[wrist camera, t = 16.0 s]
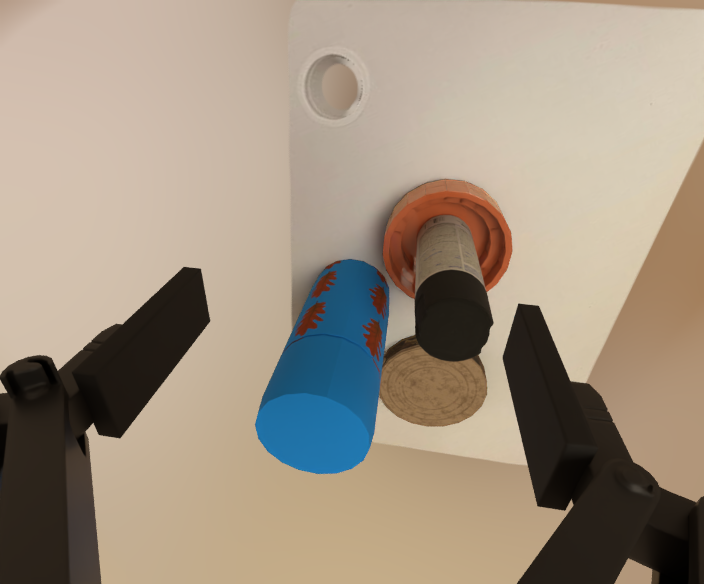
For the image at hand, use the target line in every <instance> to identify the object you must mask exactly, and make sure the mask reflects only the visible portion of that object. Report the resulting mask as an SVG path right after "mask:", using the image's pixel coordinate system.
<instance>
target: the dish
mask: <svg viewBox="0 0 704 584" xmlns="http://www.w3.org/2000/svg"><path fill="white" fill-rule="evenodd" d="M439 215H452V216H455V217H458V218H460V219H461V220H463V221H464V222H465V223H466V224H467V225H468V227H469V229H470V231H471V234H472V237H473V241H474V245H475V249H476V253H477V257H478V261H479V265H480V269H481V273H482V276H483V280H484V284H485V288H486V292H487V291H489V290H490V289H491V288H493V287H494V286H495V285H496V284H497V283H498V282H499V280H500V279H501V277H502V276H503V274H504V273H505V272H506V270H507V268H508V265H509V261H510V258H511V254H512V238H511V231H510V229H509V227H508V225H507V223H506V221H505V218H504V216H503V214H502V212H501V210H500V208H499V206H498V204H497V202H496V201H495V200H494V199H493V198H492V197H491V196H490V195H489V194H488V193H487V192H485V191H484V190H483V189H482V188H479V187H477V186H475V185H473V184H470V183H468V182H465V181H458V180H448V179H444V180H439V181H434V182H430V183H426V184H423V185H421V186H419V187H418V188H416V189H414V190H412V191H410V192H409V193H407V194H406V195H405V196H404V198H403V199H402V200H401V201H400V202H399V203H398V204H397V205H396V206H395V207H394V210H393V212H392V214H391V216H390V218H389V220H388V222H387V227H386V232H385V237H384V245H383V258H384V262H385V267H386V271H387V272H388V274H389V276H390V277H391V279H392V280H393V282H394V283H395V285H396V286H397V287H398V288H400V289H401V290H402V291H403V292H404V293H406V294H407V295H408V296H409V297H411V298H414V299H415V281H416V255H417V237H418V233H419V231H420V229H421V228H422V226H423V225H424V224H425V223H426V222H427V221H429V220H430V219H431V218H433V217H436V216H439Z"/></svg>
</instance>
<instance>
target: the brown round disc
mask: <svg viewBox="0 0 704 584" xmlns="http://www.w3.org/2000/svg"><path fill="white" fill-rule="evenodd" d="M379 395H380V398H381V399H382V401H383V402H384V404H385V406H386V407H387V408H388V409H389V410H390V411H391V412H393V413H394V414H395V415H396V416H397V417H399V418H402V419H404V420H406V421H408V422H410V423H413V424H418V425H423V426H447V425H451V424H455V423H459V422H461V421H463V420H465V419H467V418H469V417H471V416H472V415H473V414H474V413H475V412H476V411H477V410H478V409H479V408H480V407H481V406H482V404H483V402H484V400H485V397H486V395H487V381H486V375H485V370H484V366H483V364H482V362H481V360H480V358H479V356H478V355H477V356H475V357H473V358H471V359H468V360H465V361H458V362H450V361H443V360H440V359H437V358H434V357H432V356H430V355H429V354H428V353H426V352H425V351H424V350H423V349H422V348H421V347H420V345H419V344H418V342H417V340H416V336H412V337H408V338H405V339H402V340H401V341H399V342H398V343H396V344H395V345H393V346H392V347H391V348H389V350H388V351H387V353H386V354H385V355H384V357H383V365H382V374H381V382H380V390H379Z"/></svg>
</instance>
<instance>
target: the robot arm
mask: <svg viewBox="0 0 704 584" xmlns="http://www.w3.org/2000/svg"><path fill="white" fill-rule="evenodd" d="M209 322H210V317H209V312H208V306H207V301H206V295H205V290H204V284H203V278H202V273H201V269H198V268H189V267H183V268H182V269H181V270H180V271H179V272H178V273H177V274H176V275H175V276H174V277H173V278H172V279H171V280H169V281H168V282H167V283H166V284H165V285H164V286H163V287H162V288H161V289H160V290H159V291H158V292H157V293H156V294H154V296H152V297H151V298H150V299H149V300H148V301H147V302H146V303H145V304H144V305H143V306H142V307H141V308H140V309H138V310H137V311H136V312H135V313H134V314H133V315H132V316H131V317H130V318H129V319H128V320H127V321H126V322H125V323H124V324H123V325H121V324H115V325H113V326H111V327H109V328H107V329H105V330H104V331H102V332H101V333H100V334H98V335H97V336H96V337H95V338H94V339H93V340H92V342H91V343H89V344H87V345H86V346H85V347H84V348H83V350H81V351H80V352H78V354H76V355H75V356H74V357H73V358H72V359H71V360H70V361H68V362H67V363H66V364H65V365H64V366H63V367H62V368H61V369H59V370H58V371H57V369H56V367H55V364H54V362H53V360H52V358H50V357H48V356H41V355H37V356H32V357H27V358H24V359H21V360H18V361H16V362H15V363H13V364H11V365H9V366H8V367H7V368H6V369H5V370H4V371H3V372H2V373H1V375H0V380H1V382H2V384H3V385H4V387H5V389H6V391H7V393H2V394H0V584H101V575H100V564H99V553H98V542H97V530H96V519H95V508H94V497H93V486H92V475H91V463H90V452H89V441H88V437H87V435H86V432H85V431H86V430H87V429H88V428H89V427H90V426H91V425H92V424H93V423H94V425H95V427H96V430H97V432H98V434H99V435H103V436H109V437H115V438H121V437H122V435H123V434H124V433H125V431H126V430H127V429H128V428H129V426H130V425H131V424H132V422H133V421H134V420H135V418H136V417H137V416H138V415H139V413H140V412H141V411H142V409H143V408H144V407H145V405H146V404H147V403H148V401H149V400H150V399H151V398H152V396H153V395H154V394H155V392H156V391H157V390H158V388H159V387H160V386H161V384H162V383H163V382H164V381H165V379H166V378H167V377H168V376H169V374H170V373H171V372H172V370H173V369H174V368H175V366H176V365H177V364H178V363H179V361H180V360H181V359H182V357H183V356H184V355H185V353H186V352H187V351H188V349H189V348H190V347H191V346H192V344H193V343H194V342H195V340H196V339H197V338H198V336H199V335H200V334H201V333H202V331H203V330H204V329H205V327H206V326H207V325H208V323H209ZM503 362H504V366H505V370H506V375H507V379H508V383H509V387H510V392H511V396H512V400H513V404H514V409H515V413H516V417H517V421H518V426H519V430H520V434H521V438H522V442H523V447H524V451H525V455H526V459H527V464H528V468H529V472H530V476H531V480H532V485H533V489H534V493H535V498H536V502H537V506H539V507H546V508H552V509H558V510H564V511H565V510H566V508H567V506H568V504H569V502H570V501H571V499H572V502H573V504H574V506H573V507H572V509H571V510H570V511H569V513H568V514H567V516H566V517H565V518H564V520H563V521H562V522H561V524H560V525H559V527H558V528H557V529H556V531H555V532H554V534H553V535H552V536H551V538H550V539H549V540H548V542H547V543H546V544H545V546H544V547H543V548H542V550H541V551H540V553H539V554H538V556H537V557H536V558H535V560H534V561H533V562H532V564H531V565H530V567H529V568H528V569H527V571H526V572H525V573H524V575H523V576H522V577H521V579H520V580H519V581H518V583H517V584H614V583H615V581H616V579H617V577H618V576H619V574H620V572H621V570H622V568H623V566H624V565H625V563H626V560H627V559H628V558H629V559H632V560H634V561H636V562H638V563H640V564H642V565H644V566H647V567H649V568H651V569H653V570H652V584H704V496H703V497H701V498H700V499H699V500H698V502H694V501H692V500H689V499H686V498H684V497H682V496H678V495H676V494H674V493H671V492H669V491H667V490H665V489H662V488H661V487H659V485H658V483H657V481H656V480H655V479H654V477H653V476H652V475H651V474H650V473H649V472H648V471H646V470H645V469H644V468H643V467H641V466H639V465H637V464H635V463H634V462H633V461H632V459H631V456H630V455H629V452H628V450H627V448H626V446H625V444H624V442H623V440H622V438H621V436H620V434H619V432H618V430H617V428H616V426H615V424H614V423H613V422H612V421H613V420H612V418H611V415H610V413H609V412H607V407H606V405H605V403H604V401H603V399H602V397H601V396H600V395H599V394H598V392H597V391H596V390H595V389H593V388H592V387H591V385H590V384H587V383H579V382H571V381H570V379H569V377H568V375H567V372H566V370H565V367H564V365H563V363H562V360H561V358H560V355H559V353H558V351H557V348H556V346H555V343H554V341H553V339H552V336H551V334H550V331H549V329H548V327H547V324H546V322H545V319H544V317H543V315H542V312H541V310H540V308H539V306H535V305H526V304H518V307H517V310H516V314H515V317H514V321H513V324H512V327H511V331H510V334H509V337H508V341H507V344H506V348H505V351H504V354H503Z"/></svg>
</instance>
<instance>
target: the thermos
mask: <svg viewBox="0 0 704 584" xmlns="http://www.w3.org/2000/svg"><path fill="white" fill-rule="evenodd" d="M388 317H389V287H388V284H387V282H386V280H385V278H384V276H383V275H382V274H381V273H380V272H379V271H378V270H377V269H376V268H375V267H373V266H371V265H369V264H367V263H365V262H364V261H358V260H352V259H348V260H341V261H336V262H335V263H333V264H331V265H329V266H327V267H326V268H325V269H324V270H323V272H322V273H321V274H320V275H319V277H318V278H317V280H316V282H315V284H314V285H313V287H312V289H311V291H310V293H309V295H308V297H307V300H306V302H305V304H304V306H303V309H302V311H301V313H300V315H299V317H298V320H297V322H296V324H295V326H294V328H293V331H292V333H291V335H290V337H289V339H288V342H287V344H286V346H285V348H284V351H283V353H282V355H281V357H280V359H279V362H278V364H277V366H276V368H275V370H274V373H273V375H272V377H271V379H270V381H269V384H268V386H267V388H266V390H265V392H264V395H263V397H262V401H261V404H260V408H259V412H258V416H257V419H256V423H255V426H256V431H257V435H258V439H259V440H260V441H261V443H262V444H263V445H264V447H265V448H266V450H267V451H268V452H269V453H270V454H272V455H273V456H274V457H276V458H277V459H278V460H280V461H281V462H282V463H285V464H287V465H289V466H291V467H294V468H296V469H298V470H302V471H307V472H312V473H316V474H328V473H329V474H330V473H331V474H332V473H339V472H342V471H346V470H349V469H352V468H353V467H355V466H356V465H358V464H359V463H360V462H362V461H363V460H364V458H365V456H366V454H367V453H368V451H369V448H370V446H371V442H372V439H373V435H374V430H375V422H376V414H377V406H378V398H379V390H380V382H381V374H382V365H383V357H384V349H385V341H386V333H387V325H388Z"/></svg>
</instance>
